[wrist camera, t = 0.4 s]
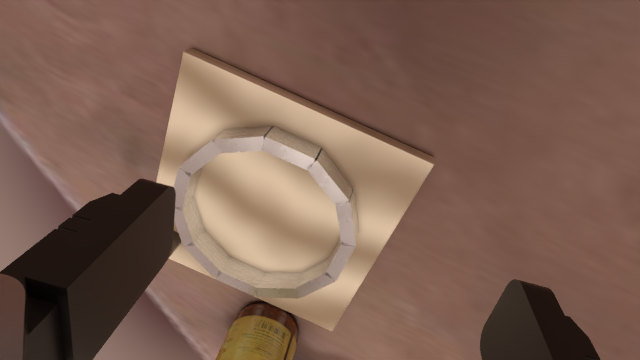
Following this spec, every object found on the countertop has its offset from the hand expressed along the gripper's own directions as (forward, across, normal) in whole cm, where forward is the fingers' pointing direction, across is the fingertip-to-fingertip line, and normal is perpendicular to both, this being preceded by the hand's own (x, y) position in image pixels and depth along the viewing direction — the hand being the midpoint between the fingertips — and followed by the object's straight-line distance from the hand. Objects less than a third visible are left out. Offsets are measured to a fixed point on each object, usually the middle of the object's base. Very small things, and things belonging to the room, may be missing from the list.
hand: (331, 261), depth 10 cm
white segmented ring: (+19, +5, +12) cm, 23 cm away
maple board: (+20, +4, +12) cm, 24 cm away
